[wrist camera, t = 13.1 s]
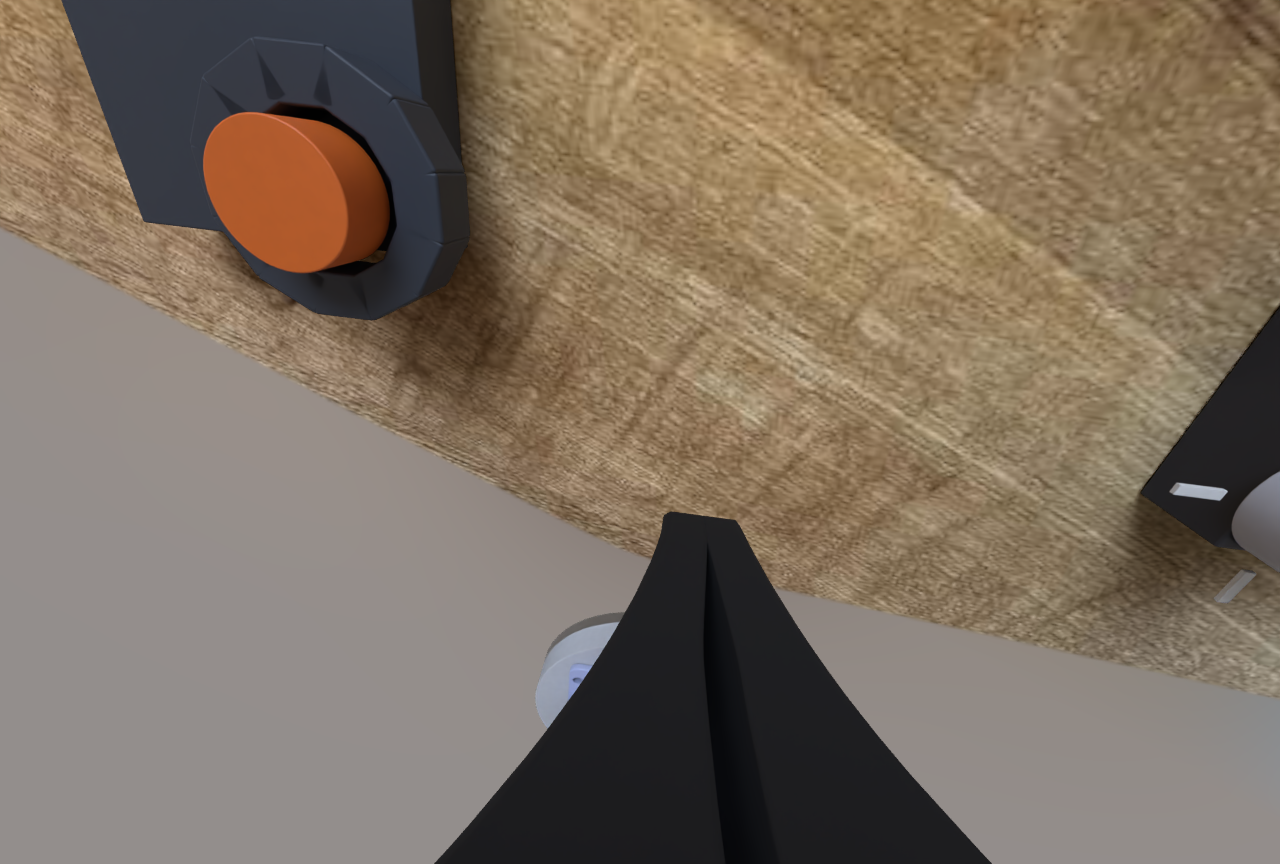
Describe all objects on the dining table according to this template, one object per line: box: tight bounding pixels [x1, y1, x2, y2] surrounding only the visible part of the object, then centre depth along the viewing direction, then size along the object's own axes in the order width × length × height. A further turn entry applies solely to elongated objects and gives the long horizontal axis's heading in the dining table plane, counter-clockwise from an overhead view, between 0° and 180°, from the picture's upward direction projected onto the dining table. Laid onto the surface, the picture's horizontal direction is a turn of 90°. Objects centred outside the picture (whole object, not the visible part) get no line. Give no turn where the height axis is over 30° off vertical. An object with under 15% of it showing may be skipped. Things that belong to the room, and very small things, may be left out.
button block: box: [62, 0, 470, 321], centre depth 12 cm, size 12×10×4 cm
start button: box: [203, 112, 390, 273], centre depth 11 cm, size 3×3×2 cm
